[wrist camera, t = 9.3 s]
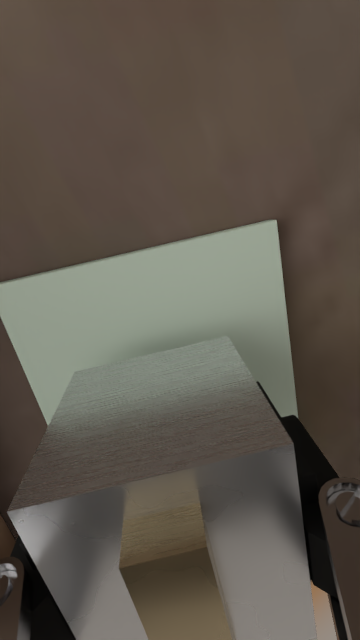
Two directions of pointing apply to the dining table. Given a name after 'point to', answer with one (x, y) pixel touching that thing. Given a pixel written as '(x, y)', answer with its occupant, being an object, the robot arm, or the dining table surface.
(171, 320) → the mat
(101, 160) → the dining table surface
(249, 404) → the white block
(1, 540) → the tan board with knob
